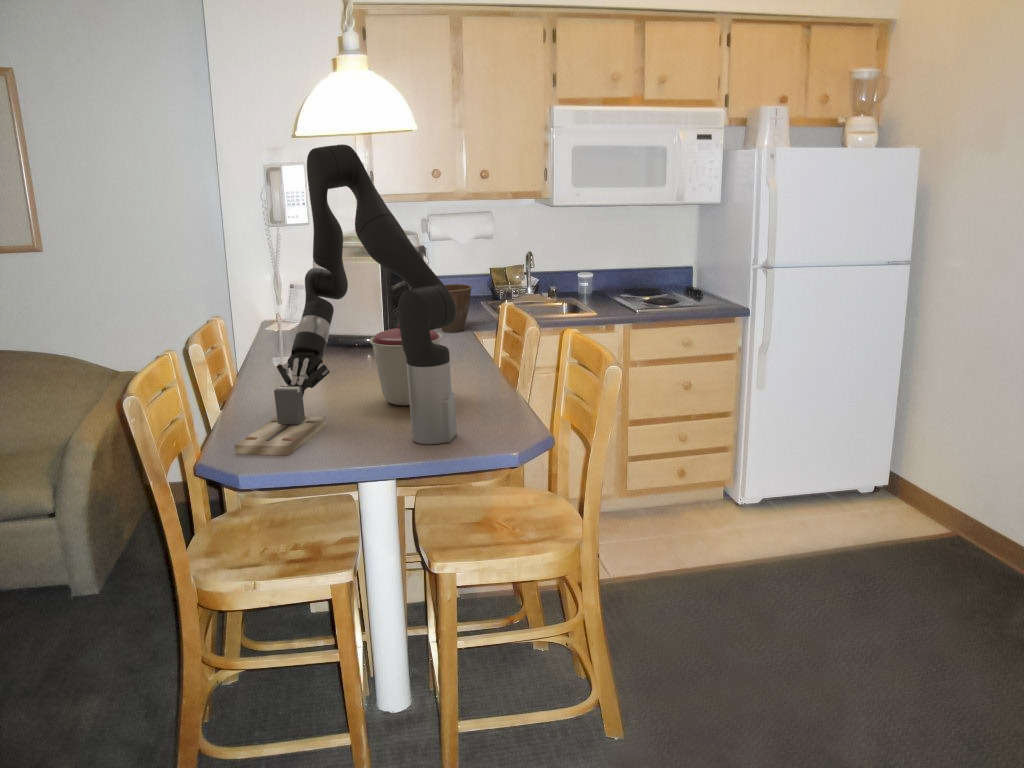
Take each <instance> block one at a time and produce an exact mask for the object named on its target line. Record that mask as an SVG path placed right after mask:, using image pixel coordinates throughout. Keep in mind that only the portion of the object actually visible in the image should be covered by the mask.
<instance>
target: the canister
mask: <svg viewBox="0 0 1024 768" xmlns="http://www.w3.org/2000/svg"><path fill="white" fill-rule="evenodd" d="M397 327H398V328H396V327H395V328H390V329H386V330H383V331H379V332H377V333H376V334H374V336H372V337H371V338H370V339H369V343H370V344H371V345H372V349H373V354H374V360H375V364H376V370H377V373H378V379H379V383H380V388H381V392H382V395H383V398H384V399H385V400H386V401H387V402H388V403H390V404H392V405H395V406H407V407H408V406H409V407H410V402H409V388H408V375H407V361H406V355H405V352H404V350H403V346H402V339H401V331H400V324H399V322H398V323H397ZM430 336H431V340H432V342H433V343H434V344H439V345H440V342H441V340H442V338H443V335H442V334H441V333H439V332H437V331H436V330H435V329H434V330H430Z"/></svg>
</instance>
